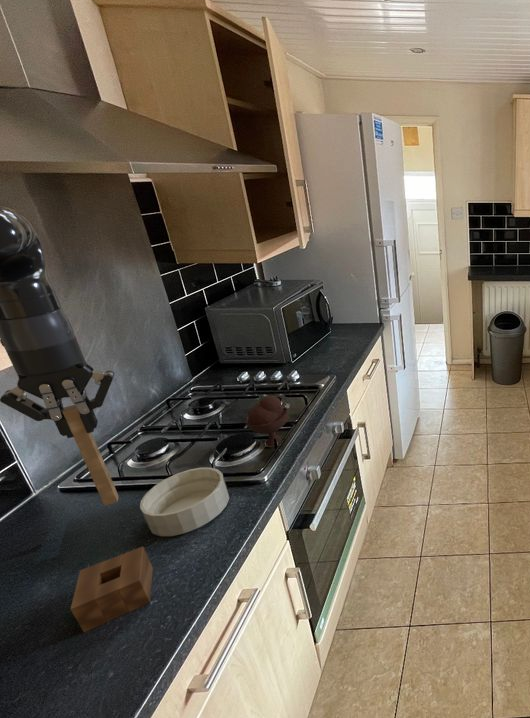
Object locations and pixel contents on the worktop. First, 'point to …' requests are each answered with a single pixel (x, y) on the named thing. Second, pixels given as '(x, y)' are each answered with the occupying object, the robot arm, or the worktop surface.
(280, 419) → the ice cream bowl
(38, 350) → the robot arm
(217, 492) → the mixing bowl
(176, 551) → the worktop surface
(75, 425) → the stick
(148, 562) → the stick holder
